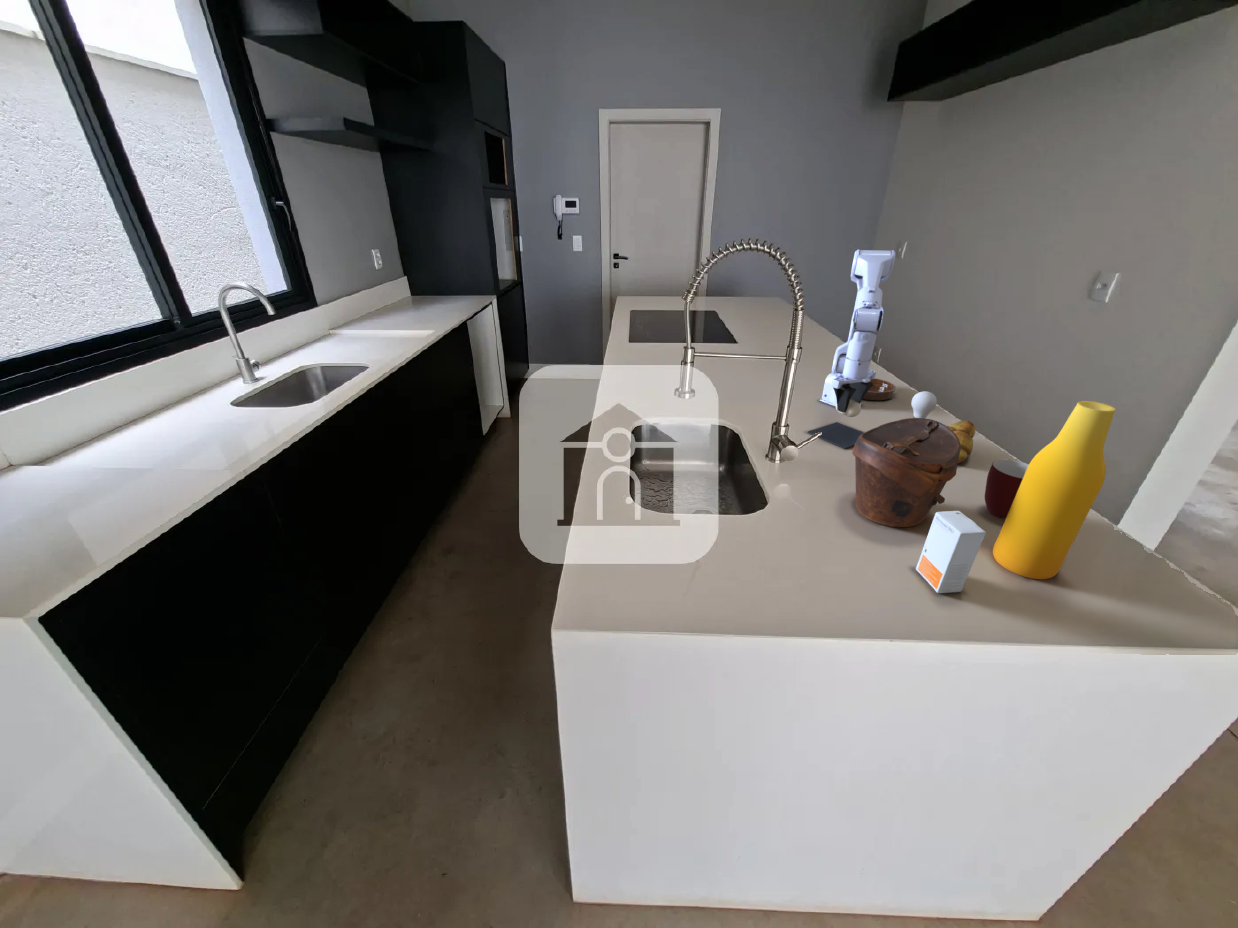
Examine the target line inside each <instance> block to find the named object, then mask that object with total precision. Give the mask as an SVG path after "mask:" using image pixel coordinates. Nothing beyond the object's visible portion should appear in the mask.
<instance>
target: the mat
mask: <svg viewBox="0 0 1238 928" xmlns="http://www.w3.org/2000/svg"><path fill="white" fill-rule="evenodd" d="M818 432H822V435H821V436H819V437H818V438H819V439H821V440H823V441H825V442H827V443H830V444H832V445H835V446H837V447H839V448H841V449H844V450H847V449H851V448H854V445H855V443H856V441H857V439H858V437H859V436H860V435H861V434H863V433H864V432H863V431H861V430H858V429H856V428H853V427H850V426H848V425H845V424H843V423H841V422H838V421H837V422H833V423H829V424H827V425H824V426H821V427H817V428H814V429H811V430H808V431H807V434H810V435H812V436H814V435H813V434H815V433H818Z"/></svg>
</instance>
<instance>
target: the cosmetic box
mask: <svg viewBox="0 0 1238 928" xmlns="http://www.w3.org/2000/svg"><path fill="white" fill-rule="evenodd" d="M986 534H987V533H986V530H984V529H983V528H981V527H980V526H979V525H978V524H977V523H976V522H975V521H974V520H972V519H971V518H969V517H968V516H967V515H965V514H964V513H963V512H962V511H960V510H950V511H949V510H948V511H946V510H945V511H936V512H935V513H934V516H933V518H932V522H931V525H930V528H929V530H928V534H927V536H926V539H925V542H924V543H923V544H924V545H923V546H922V550H921V553H920V556H919V558H918V561H917V564H916V567H915V570H916V571H917V573H919V574H920V576H921V577H922V578H923V580H925V581H926V582H927V583H928V584H929V585H930V587H931V588H932V589H933V590H934V591H935V592H936V593H937V594H947V593H960V592H962V591H963V589H964V587H965V585H966V582H967V579H968V578H969V577H968V576H969V574H970V572H971V569H972V567H973V566H974V562H975V561H976V558H977V555H978V553H979V550H980V547H981V545H982V543H983V542H984V541H983V540H984V539H985V536H986Z"/></svg>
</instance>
